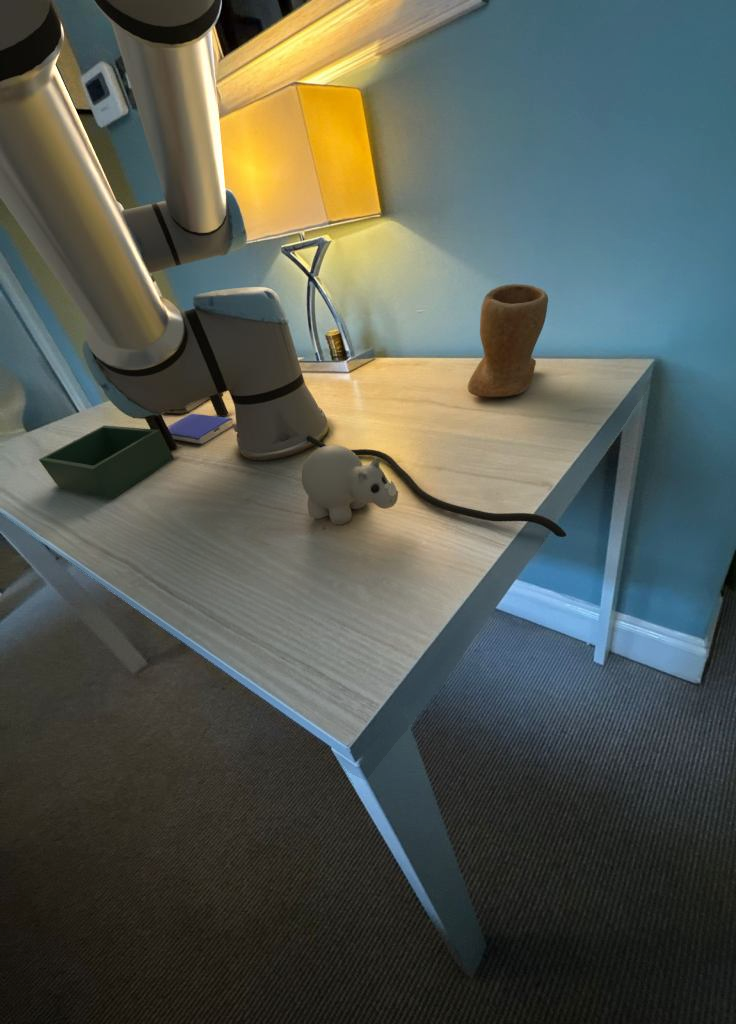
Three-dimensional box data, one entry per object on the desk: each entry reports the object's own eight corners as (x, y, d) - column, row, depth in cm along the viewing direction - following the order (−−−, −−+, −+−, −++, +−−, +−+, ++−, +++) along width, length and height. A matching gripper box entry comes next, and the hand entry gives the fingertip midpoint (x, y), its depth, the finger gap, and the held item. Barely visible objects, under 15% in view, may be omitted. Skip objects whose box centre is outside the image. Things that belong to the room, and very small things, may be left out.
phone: (228, 381, 105) (183, 408, 95) (230, 386, 105) (185, 413, 95) (204, 382, 108) (158, 408, 98) (206, 386, 109) (161, 413, 99)
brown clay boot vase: (539, 403, 66) (542, 295, 57) (461, 403, 71) (453, 305, 63) (552, 366, 76) (556, 270, 68) (483, 369, 82) (479, 280, 73)
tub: (174, 458, 77) (159, 429, 73) (112, 499, 68) (92, 468, 65) (119, 451, 85) (104, 425, 82) (58, 487, 77) (38, 459, 73)
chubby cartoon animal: (383, 546, 46) (368, 478, 41) (301, 521, 53) (280, 460, 48) (417, 508, 50) (407, 442, 46) (338, 489, 57) (321, 430, 52)
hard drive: (159, 430, 85) (198, 437, 78) (192, 412, 90) (231, 417, 83) (163, 438, 86) (201, 445, 79) (196, 419, 91) (234, 424, 84)
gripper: (186, 296, 83) (228, 402, 95) (63, 341, 67) (133, 461, 79) (213, 293, 79) (254, 402, 92) (90, 339, 63) (159, 465, 75)
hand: (198, 430), depth 85 cm, fingers open, 13 cm apart
